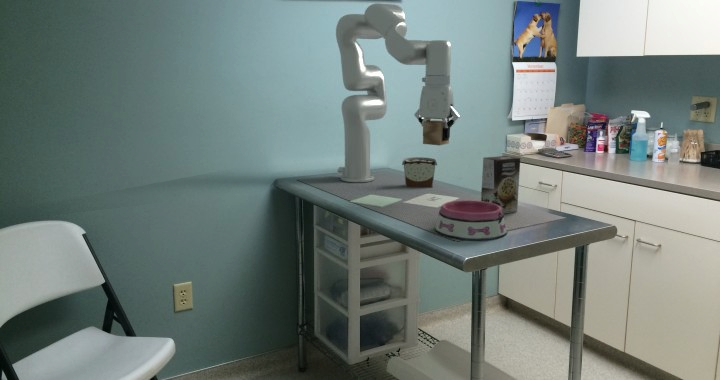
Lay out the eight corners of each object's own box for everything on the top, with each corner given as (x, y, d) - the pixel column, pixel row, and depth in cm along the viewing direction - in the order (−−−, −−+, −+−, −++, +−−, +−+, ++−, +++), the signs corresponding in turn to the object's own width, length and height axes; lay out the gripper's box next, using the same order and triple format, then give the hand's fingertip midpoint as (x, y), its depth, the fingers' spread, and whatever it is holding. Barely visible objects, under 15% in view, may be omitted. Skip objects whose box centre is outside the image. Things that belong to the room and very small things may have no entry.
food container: (436, 184, 212) (436, 157, 210) (436, 188, 206) (437, 160, 204) (402, 184, 213) (402, 156, 211) (401, 187, 207) (401, 159, 205)
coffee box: (494, 215, 168) (496, 160, 165) (479, 210, 174) (481, 157, 171) (518, 212, 172) (521, 157, 169) (503, 207, 178) (506, 154, 175)
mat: (349, 202, 185) (349, 201, 185) (371, 195, 194) (371, 194, 194) (381, 207, 178) (381, 206, 178) (402, 200, 188) (402, 199, 187)
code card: (402, 202, 184) (402, 202, 184) (427, 193, 197) (427, 193, 197) (436, 208, 177) (436, 207, 177) (460, 198, 190) (460, 197, 190)
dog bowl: (447, 219, 165) (448, 195, 164) (513, 227, 157) (515, 202, 156) (424, 236, 149) (425, 209, 148) (497, 245, 141) (498, 218, 140)
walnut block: (422, 143, 184) (423, 121, 183) (432, 141, 189) (432, 120, 188) (439, 145, 181) (440, 122, 179) (448, 143, 186) (449, 121, 184)
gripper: (407, 81, 183) (406, 139, 187) (457, 82, 173) (455, 143, 177) (419, 80, 189) (418, 136, 193) (468, 81, 179) (466, 140, 183)
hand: (436, 139), depth 185 cm, fingers closed on walnut block, 6 cm apart
